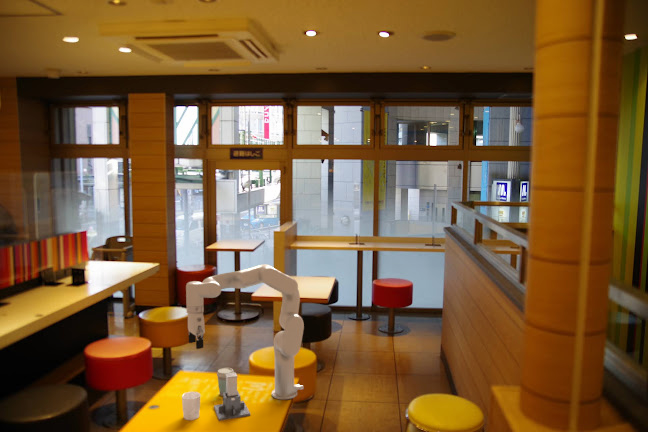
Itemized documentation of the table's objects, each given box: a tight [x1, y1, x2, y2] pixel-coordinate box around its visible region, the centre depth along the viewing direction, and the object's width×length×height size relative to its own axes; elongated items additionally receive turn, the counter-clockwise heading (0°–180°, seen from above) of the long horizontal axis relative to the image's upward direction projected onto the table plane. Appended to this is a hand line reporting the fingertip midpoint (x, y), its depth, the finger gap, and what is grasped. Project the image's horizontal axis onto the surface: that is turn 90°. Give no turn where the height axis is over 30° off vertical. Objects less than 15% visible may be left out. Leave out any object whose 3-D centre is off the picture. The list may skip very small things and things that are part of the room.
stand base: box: [213, 390, 251, 421], centre depth 237 cm, size 14×14×8 cm
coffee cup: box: [216, 367, 235, 397], centre depth 256 cm, size 8×8×12 cm
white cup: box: [181, 391, 201, 421], centre depth 232 cm, size 8×8×10 cm
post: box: [225, 372, 238, 398], centre depth 237 cm, size 5×5×16 cm
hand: (196, 345), depth 237 cm, fingers open, 9 cm apart
